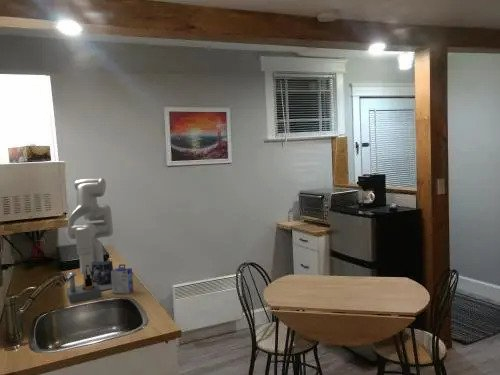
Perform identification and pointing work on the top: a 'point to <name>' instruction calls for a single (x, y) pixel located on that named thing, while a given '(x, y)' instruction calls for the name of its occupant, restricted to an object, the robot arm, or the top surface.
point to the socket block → (82, 292)
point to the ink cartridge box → (122, 280)
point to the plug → (85, 285)
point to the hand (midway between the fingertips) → (88, 284)
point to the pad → (105, 287)
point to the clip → (70, 276)
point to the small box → (102, 272)
